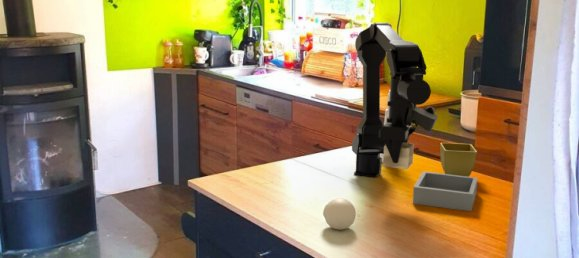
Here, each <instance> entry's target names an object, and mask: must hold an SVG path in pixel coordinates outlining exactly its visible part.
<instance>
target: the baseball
mask: <svg viewBox="0 0 579 258" xmlns="http://www.w3.org/2000/svg"><path fill="white" fill-rule="evenodd" d="M356 213H357V212H356V208H355V206H354V205H353V203H352V202H351V201H350V200H348V199H346V198H334V199H331V200H330V201H329V202H328V203H327V204H326V205H325V206H324V208H323V212H322V214H323V217H324V220H325V223H326V224H327V225H328V226H329V227H331V228H332V229H334V230H346V229H349V228H350V227H352V226H353V224H354V223H355V220H356V215H357V214H356Z"/></svg>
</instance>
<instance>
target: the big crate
mask: <svg viewBox="0 0 579 258" xmlns="http://www.w3.org/2000/svg"><path fill="white" fill-rule="evenodd" d="M477 188H478V177H473V176H469V177H467V176H458V175H449V174H445V173H440V172H439V173H438V172H430V171H424V170H423V171H422V172H421V174H420V176H419V177H418V179H417V181H416V183H415V184H414V186H413V192H412V193H413V194H412V196H413V197H412V204H414V205H422V206H430V207H435V208H443V209H451V210H452V209H453V210H456V211H457V210H458V211H466V212H472V211H473V207H474V203H475V200H476V197H477V196H476V195H477V191H478V190H477Z"/></svg>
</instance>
